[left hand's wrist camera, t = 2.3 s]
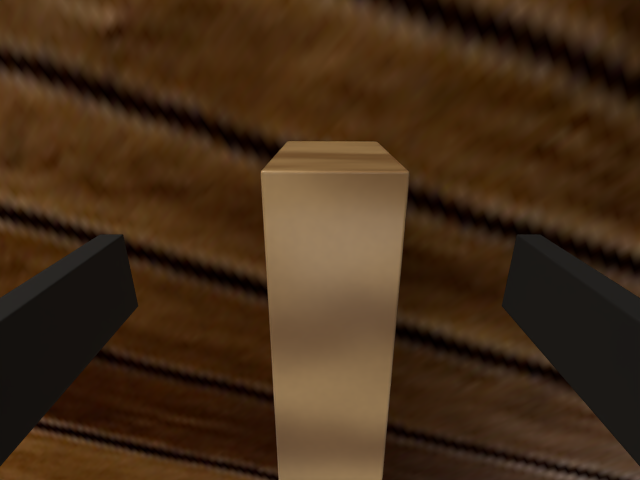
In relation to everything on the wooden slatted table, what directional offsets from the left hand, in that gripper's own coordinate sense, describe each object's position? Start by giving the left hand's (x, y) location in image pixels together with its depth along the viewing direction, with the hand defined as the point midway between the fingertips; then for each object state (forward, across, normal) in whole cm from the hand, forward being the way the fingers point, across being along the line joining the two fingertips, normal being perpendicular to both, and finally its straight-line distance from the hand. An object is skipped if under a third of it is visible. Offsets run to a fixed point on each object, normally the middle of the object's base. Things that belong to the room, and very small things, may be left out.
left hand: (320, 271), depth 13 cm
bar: (+9, +1, -8) cm, 12 cm away
